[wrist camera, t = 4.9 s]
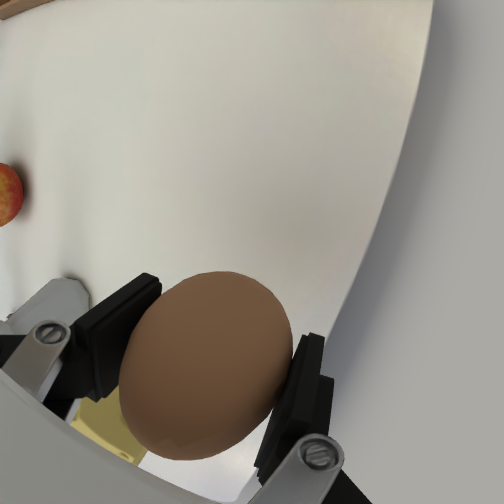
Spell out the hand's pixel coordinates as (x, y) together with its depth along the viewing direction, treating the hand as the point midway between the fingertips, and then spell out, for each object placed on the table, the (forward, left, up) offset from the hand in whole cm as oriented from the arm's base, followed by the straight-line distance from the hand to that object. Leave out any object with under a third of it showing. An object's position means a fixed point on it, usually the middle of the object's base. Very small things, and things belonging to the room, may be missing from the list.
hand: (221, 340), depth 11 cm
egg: (0, 0, -3) cm, 3 cm away
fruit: (+32, +3, -14) cm, 35 cm away
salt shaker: (+20, +13, -14) cm, 28 cm away
